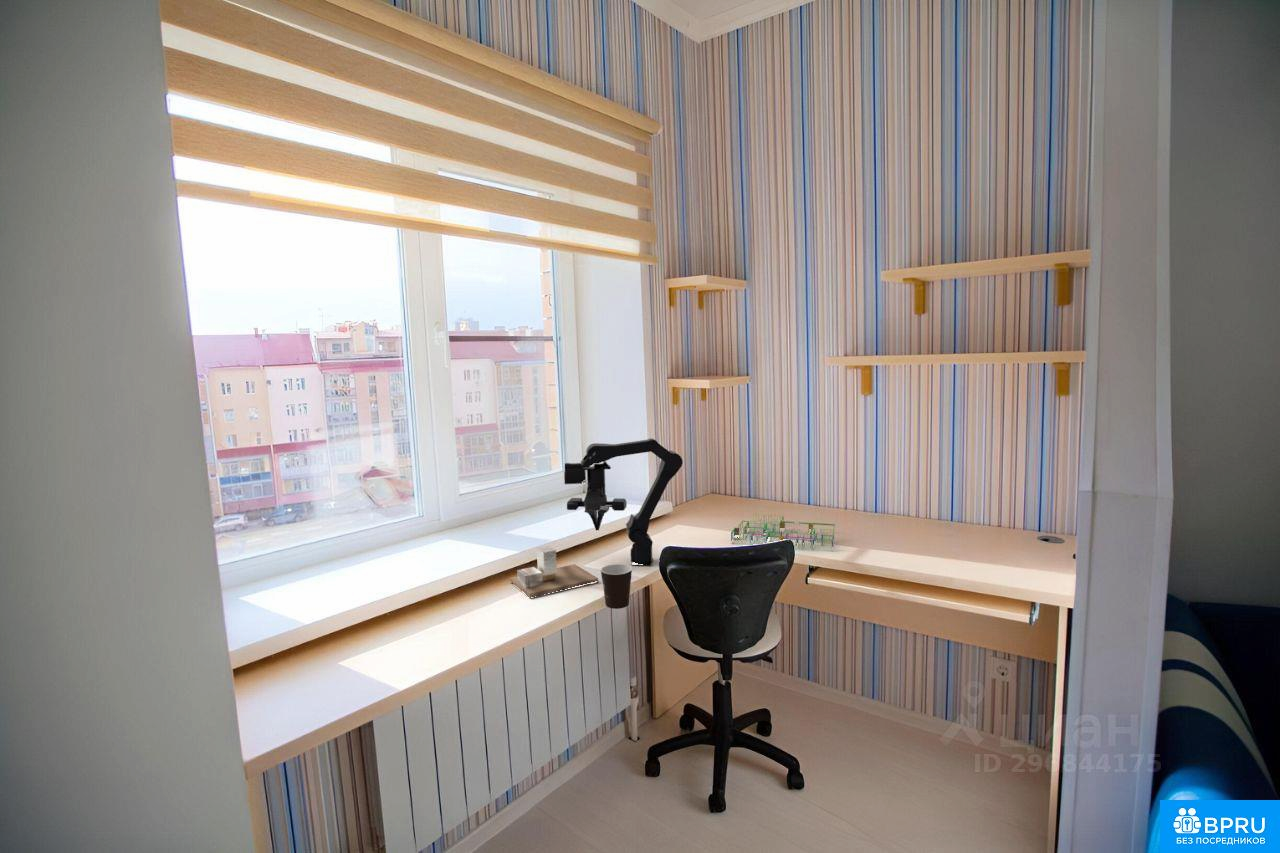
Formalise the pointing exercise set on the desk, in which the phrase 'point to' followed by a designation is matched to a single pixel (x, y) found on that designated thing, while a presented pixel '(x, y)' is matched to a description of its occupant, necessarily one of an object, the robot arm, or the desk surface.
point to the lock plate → (565, 579)
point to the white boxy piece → (547, 562)
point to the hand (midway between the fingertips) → (597, 530)
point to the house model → (782, 525)
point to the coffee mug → (616, 585)
